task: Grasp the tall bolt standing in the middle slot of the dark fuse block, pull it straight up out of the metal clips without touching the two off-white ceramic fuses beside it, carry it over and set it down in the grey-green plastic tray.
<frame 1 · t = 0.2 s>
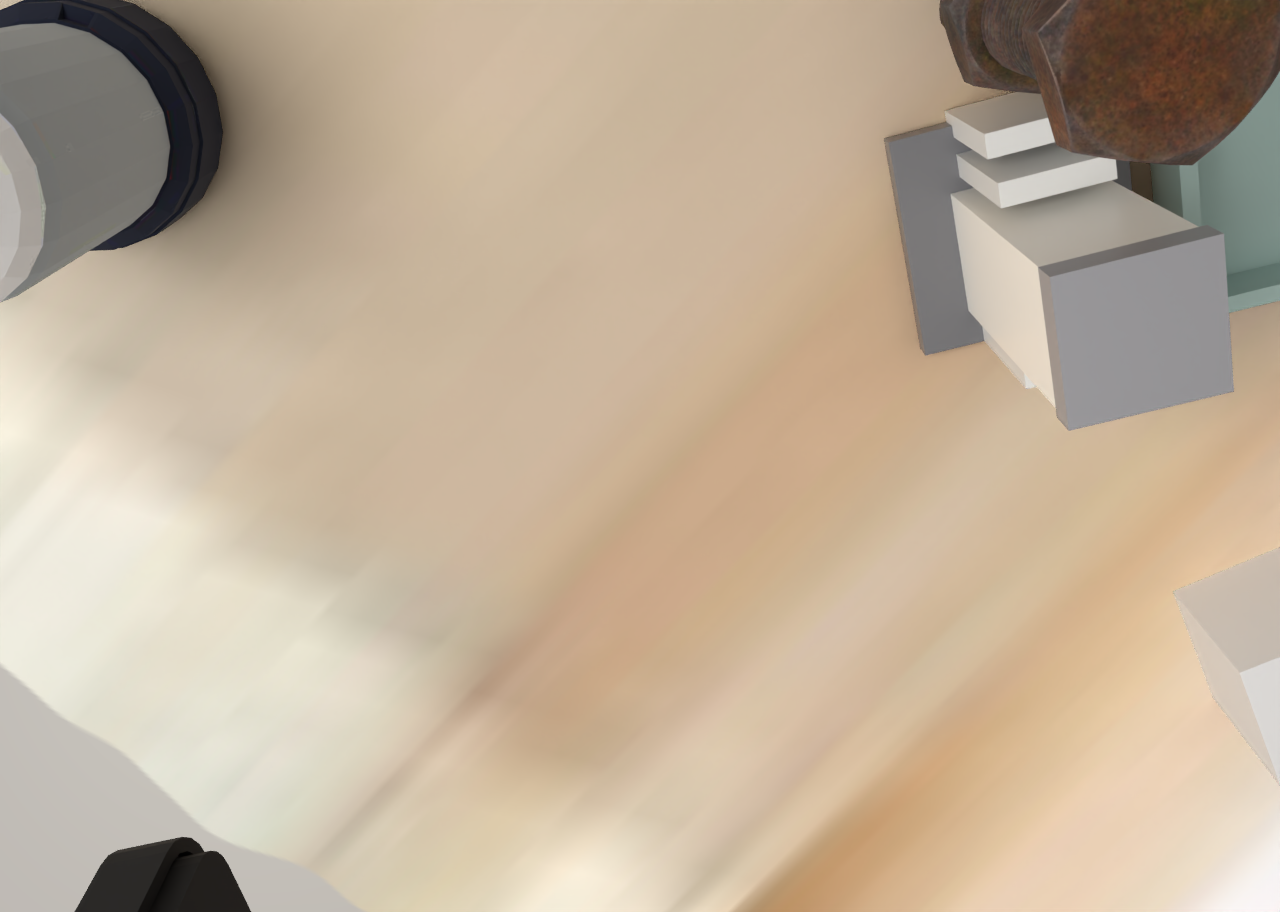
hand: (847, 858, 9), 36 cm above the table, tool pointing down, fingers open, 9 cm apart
light grey cube: (1259, 614, 51), on the table
bolt: (981, 4, 41), on the table
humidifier: (105, 118, 42), on the table
fuse block: (983, 4, 40), on the table
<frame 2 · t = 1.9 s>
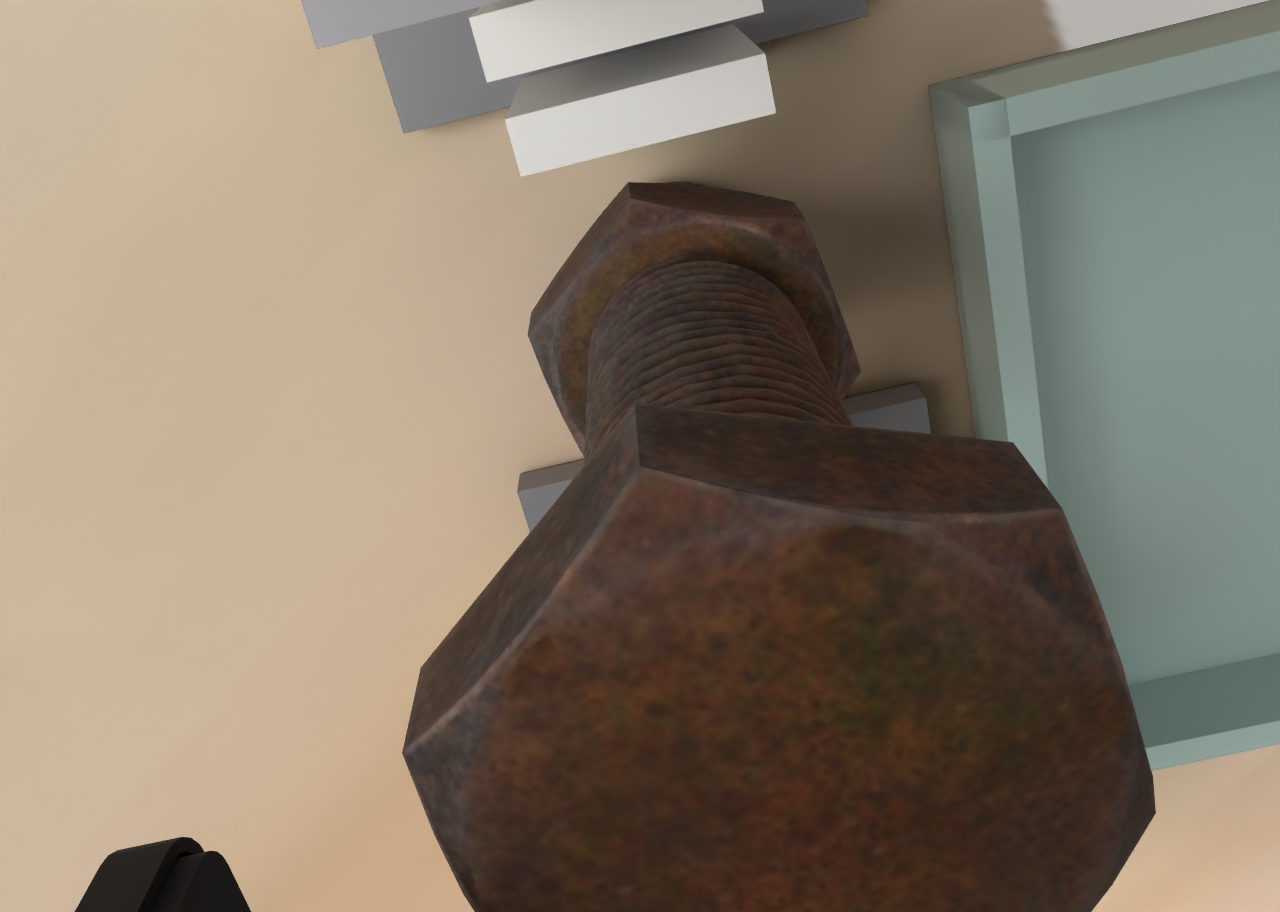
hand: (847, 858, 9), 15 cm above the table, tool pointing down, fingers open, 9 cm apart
tray: (1227, 381, 24), on the table
bolt: (675, 257, 23), on the table
fuse block: (676, 260, 22), on the table
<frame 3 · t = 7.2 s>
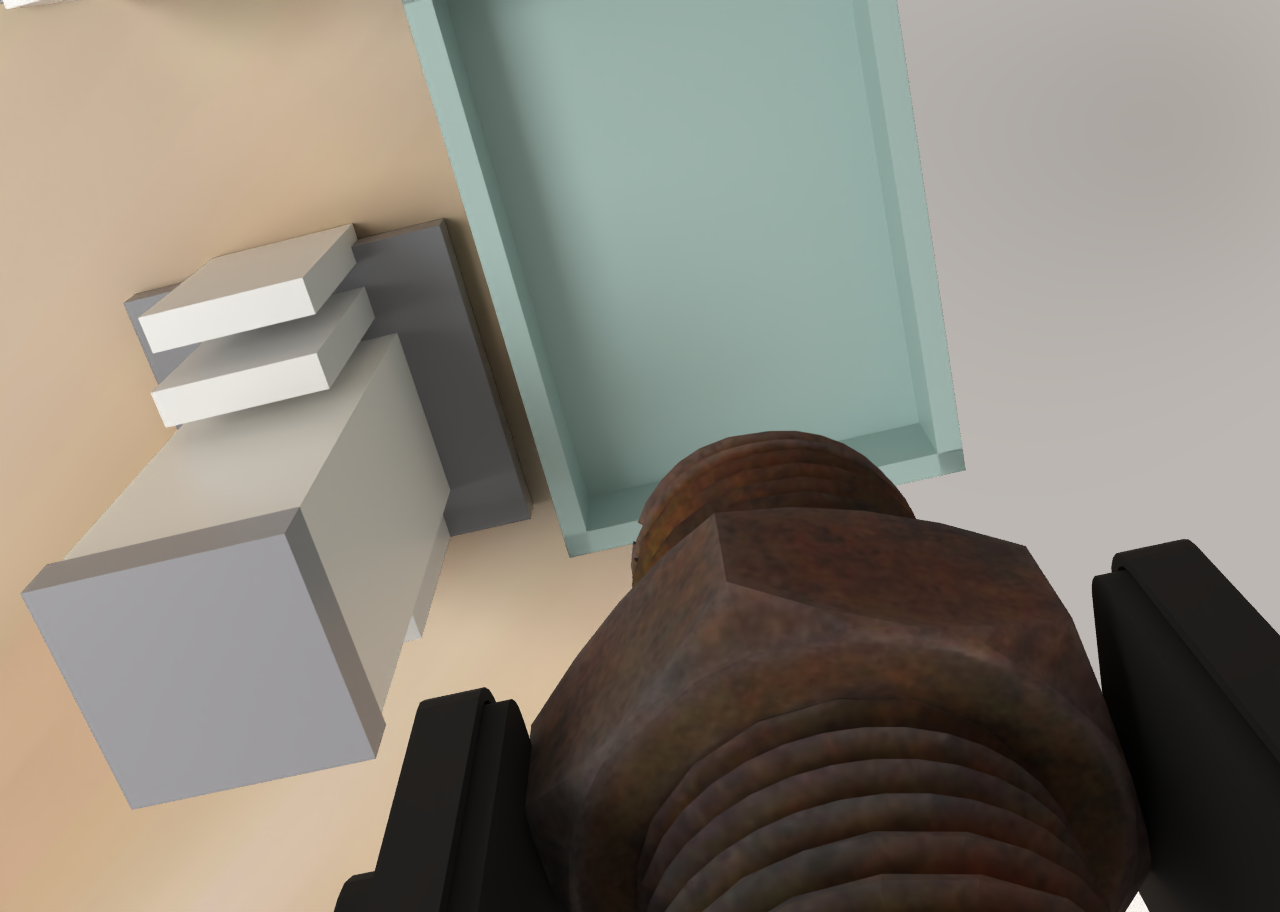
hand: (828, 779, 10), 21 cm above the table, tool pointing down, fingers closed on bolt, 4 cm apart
tray: (697, 219, 29), on the table
bolt: (767, 530, 14), point 17 cm above the table, touching gripper
fuse block: (235, 114, 28), on the table
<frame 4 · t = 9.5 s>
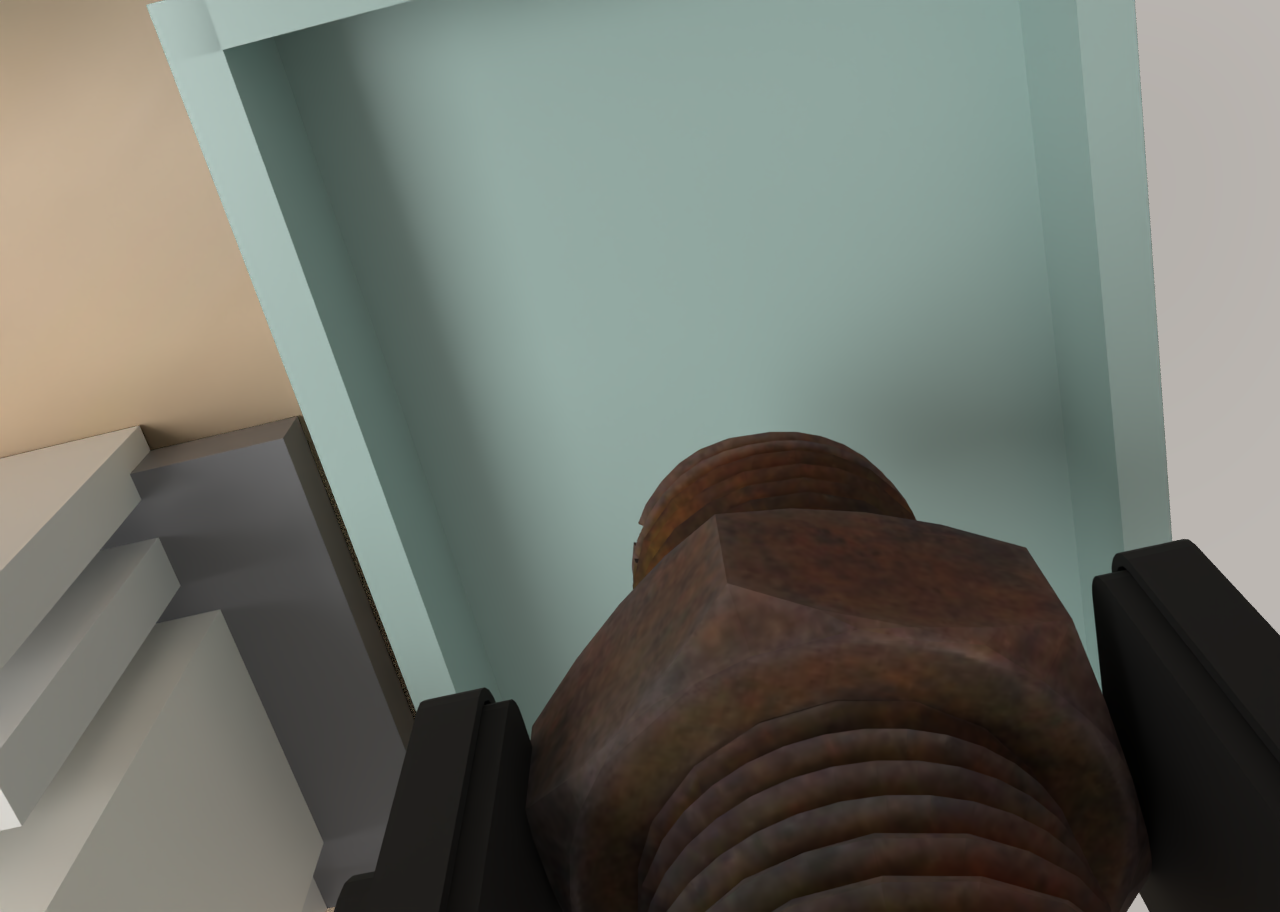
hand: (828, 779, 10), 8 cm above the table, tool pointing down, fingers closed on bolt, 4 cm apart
tray: (735, 416, 17), on the table
bolt: (768, 531, 14), point 3 cm above the table, touching gripper
when the fingers open (6 cm above the table, at t = 10.8 s): bolt stays where it is, resting on tray.
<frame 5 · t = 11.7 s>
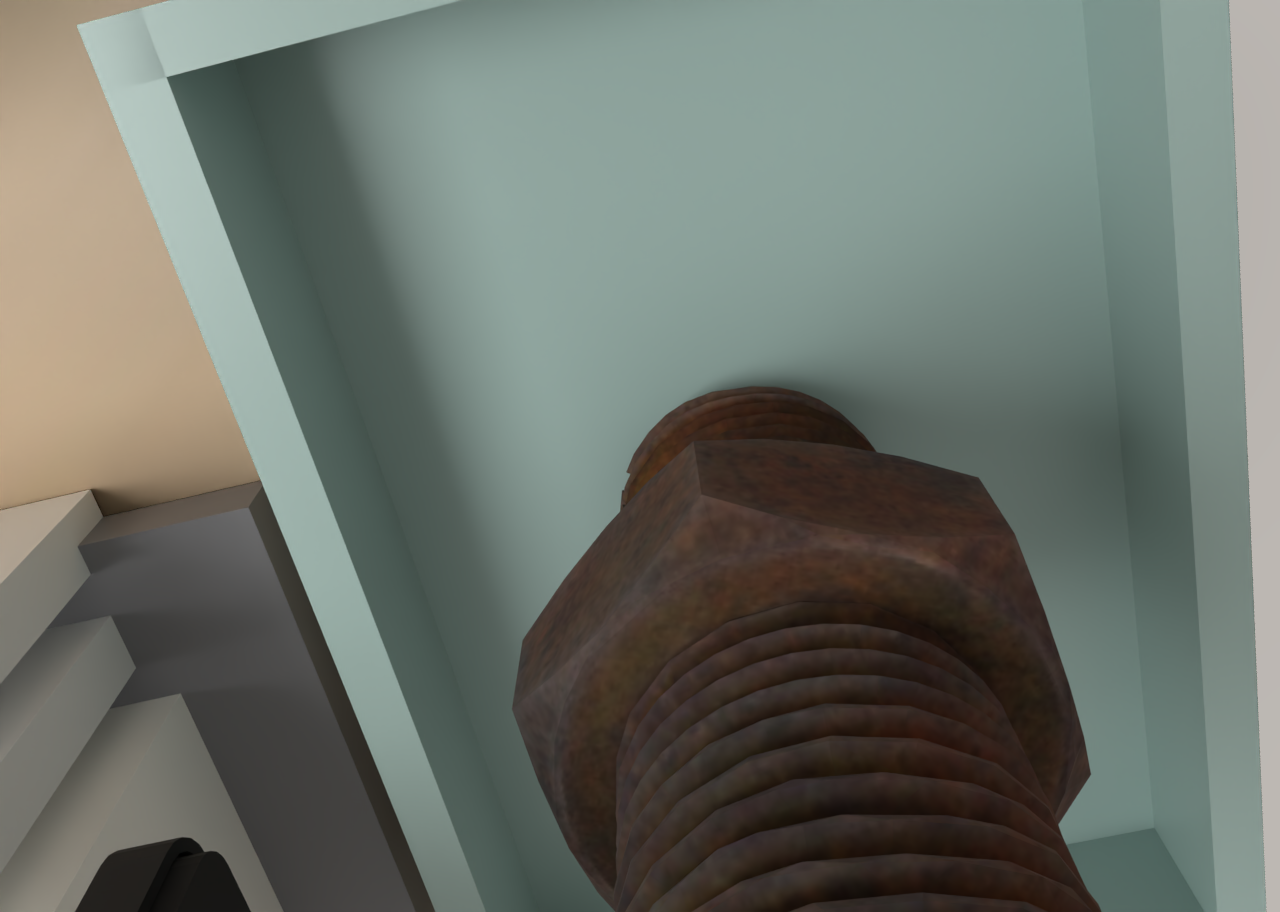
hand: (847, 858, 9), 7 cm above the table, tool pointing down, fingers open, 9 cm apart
tray: (755, 480, 15), on the table
bolt: (749, 485, 15), resting on tray
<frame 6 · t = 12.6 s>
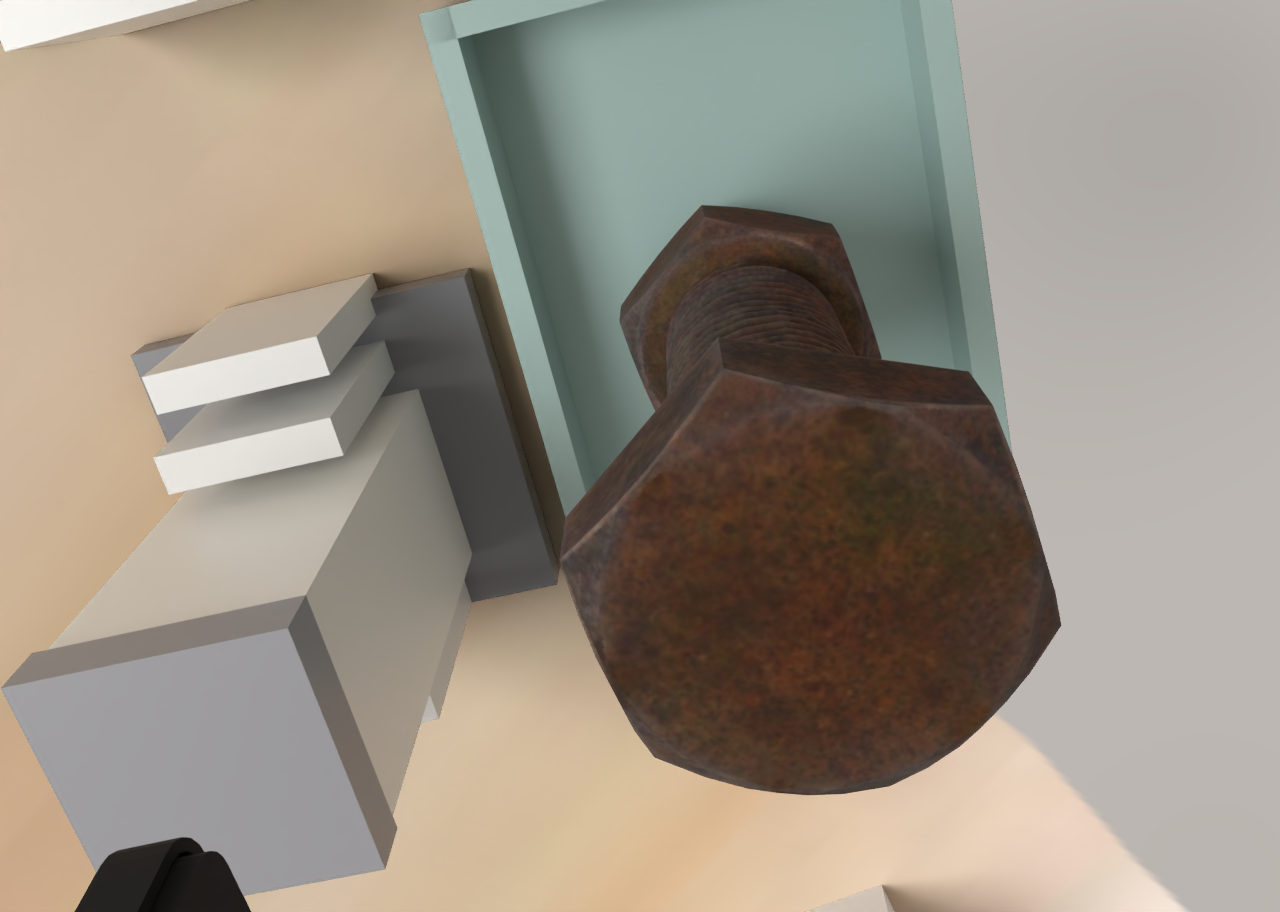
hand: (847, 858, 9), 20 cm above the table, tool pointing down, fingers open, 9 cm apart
tray: (738, 271, 28), on the table
bolt: (734, 270, 27), resting on tray
fuse block: (251, 158, 27), on the table
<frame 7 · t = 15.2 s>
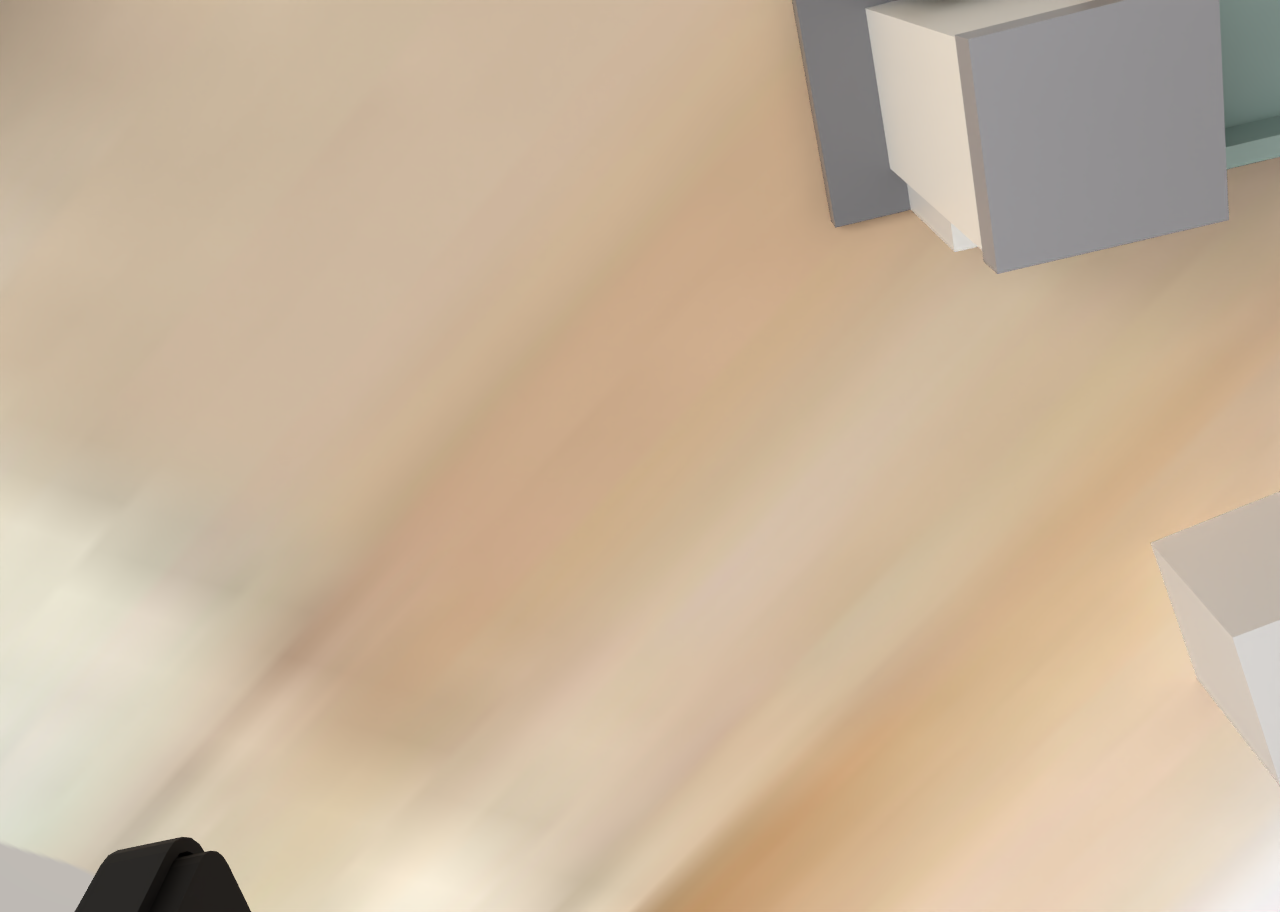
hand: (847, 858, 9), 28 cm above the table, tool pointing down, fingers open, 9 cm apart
light grey cube: (1256, 575, 41), on the table
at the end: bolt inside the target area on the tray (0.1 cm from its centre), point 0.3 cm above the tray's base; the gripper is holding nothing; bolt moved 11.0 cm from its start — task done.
